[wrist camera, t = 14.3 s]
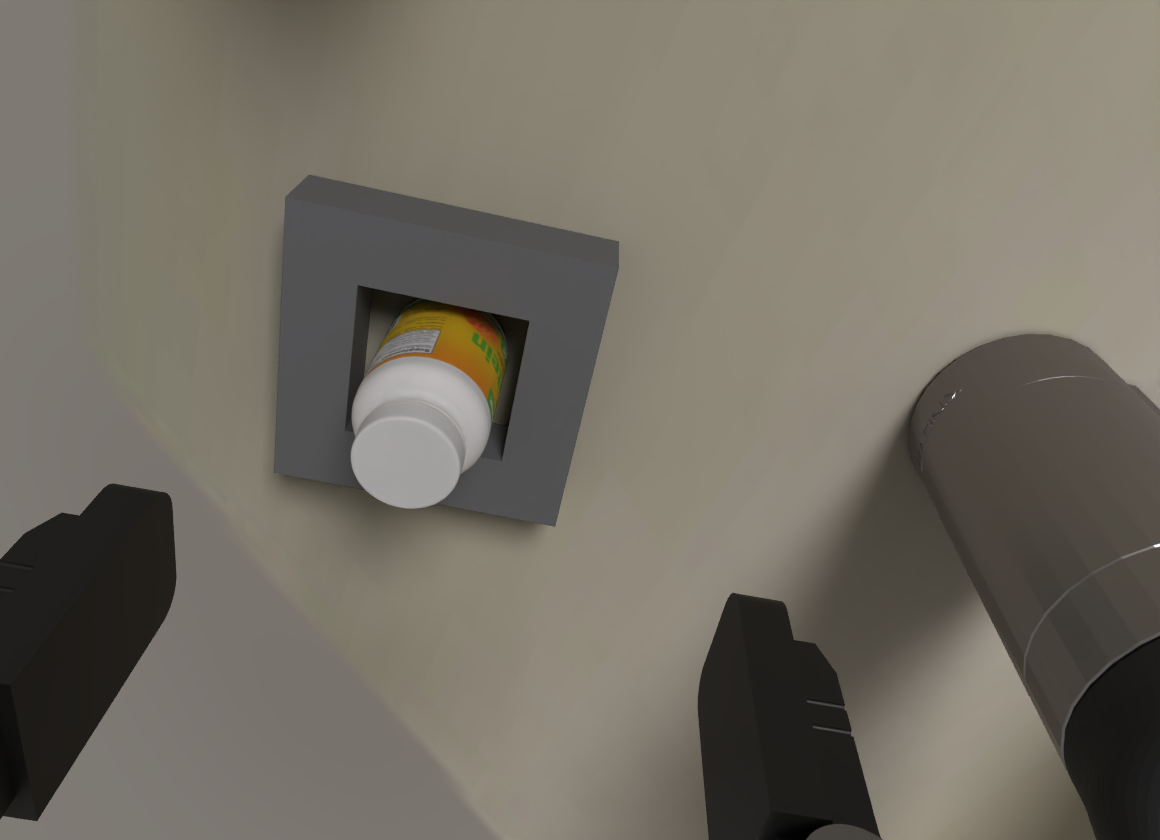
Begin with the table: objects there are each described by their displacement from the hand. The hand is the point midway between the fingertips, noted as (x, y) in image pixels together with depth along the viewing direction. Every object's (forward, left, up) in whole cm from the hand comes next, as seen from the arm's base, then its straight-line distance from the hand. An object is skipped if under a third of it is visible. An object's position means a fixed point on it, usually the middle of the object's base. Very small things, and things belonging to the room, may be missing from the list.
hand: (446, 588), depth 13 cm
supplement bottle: (+3, +10, -27) cm, 29 cm away
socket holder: (+3, +10, -27) cm, 29 cm away
